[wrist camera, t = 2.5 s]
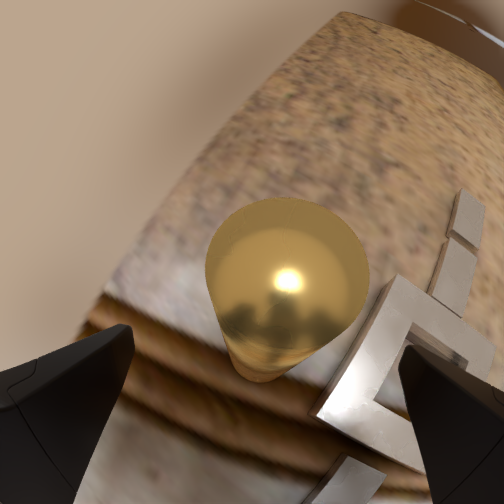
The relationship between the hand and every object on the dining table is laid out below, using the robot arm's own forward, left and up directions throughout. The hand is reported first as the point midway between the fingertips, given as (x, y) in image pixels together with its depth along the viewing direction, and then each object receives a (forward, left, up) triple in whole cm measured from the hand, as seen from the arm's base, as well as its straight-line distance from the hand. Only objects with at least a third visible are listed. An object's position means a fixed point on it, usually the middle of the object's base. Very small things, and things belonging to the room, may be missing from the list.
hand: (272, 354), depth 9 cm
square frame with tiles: (+5, -9, -9) cm, 13 cm away
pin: (+1, +1, -9) cm, 9 cm away
